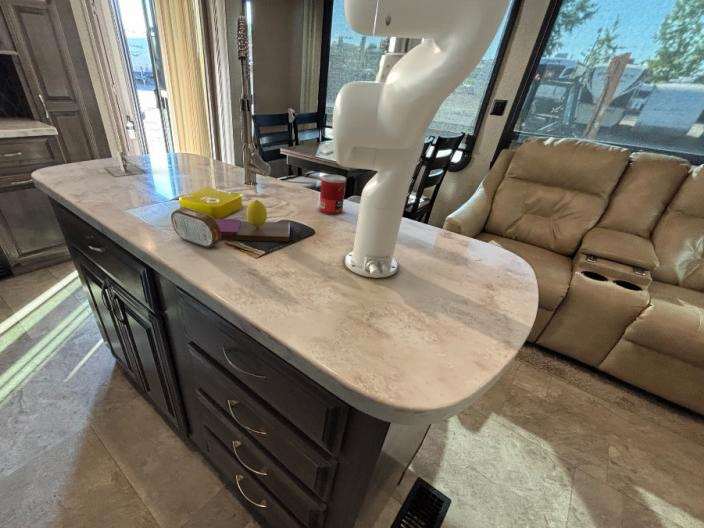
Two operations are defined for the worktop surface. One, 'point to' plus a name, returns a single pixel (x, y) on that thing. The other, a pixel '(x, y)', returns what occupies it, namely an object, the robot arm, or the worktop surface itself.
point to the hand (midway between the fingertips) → (387, 134)
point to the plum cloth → (228, 225)
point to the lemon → (256, 213)
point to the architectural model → (124, 167)
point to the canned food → (332, 194)
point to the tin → (196, 227)
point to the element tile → (212, 202)
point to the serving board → (260, 232)
